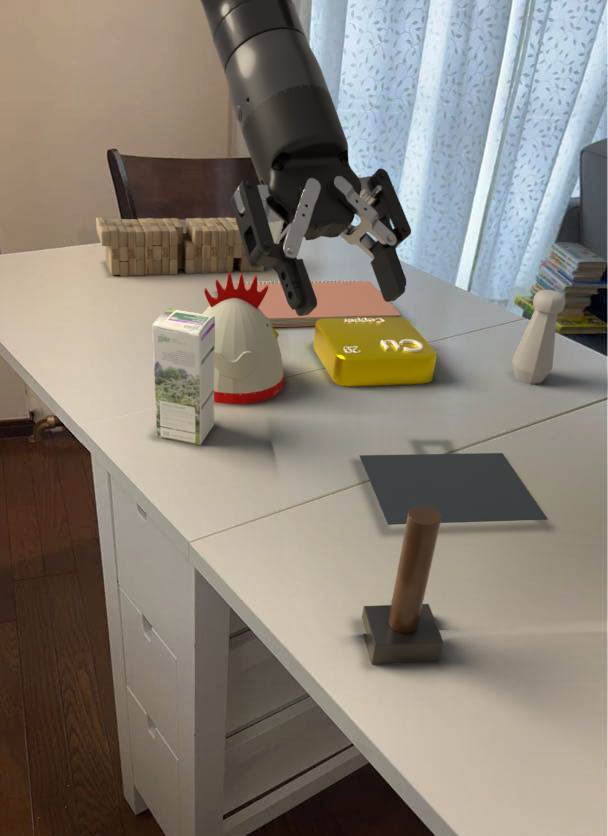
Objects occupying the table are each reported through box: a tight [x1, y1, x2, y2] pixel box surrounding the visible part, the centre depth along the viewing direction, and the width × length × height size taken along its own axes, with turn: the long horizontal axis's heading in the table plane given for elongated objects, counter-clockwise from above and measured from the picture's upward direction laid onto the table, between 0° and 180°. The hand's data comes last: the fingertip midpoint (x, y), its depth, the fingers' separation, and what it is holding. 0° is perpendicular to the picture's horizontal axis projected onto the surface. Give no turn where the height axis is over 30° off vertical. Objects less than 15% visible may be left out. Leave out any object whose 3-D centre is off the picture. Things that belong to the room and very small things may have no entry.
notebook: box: [220, 279, 402, 328], centre depth 134 cm, size 27×17×2 cm, turn 105°
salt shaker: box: [511, 289, 566, 385], centre depth 115 cm, size 6×6×13 cm
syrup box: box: [151, 308, 215, 446], centre depth 94 cm, size 6×6×14 cm
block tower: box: [95, 217, 265, 277], centre depth 144 cm, size 8×8×29 cm
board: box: [359, 452, 548, 525], centre depth 91 cm, size 18×14×1 cm
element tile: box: [312, 316, 438, 388], centre depth 117 cm, size 15×15×5 cm
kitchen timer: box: [202, 271, 285, 405], centre depth 106 cm, size 14×14×15 cm
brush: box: [361, 506, 444, 666], centre depth 67 cm, size 6×5×14 cm
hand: (353, 304), depth 63 cm, fingers open, 8 cm apart
